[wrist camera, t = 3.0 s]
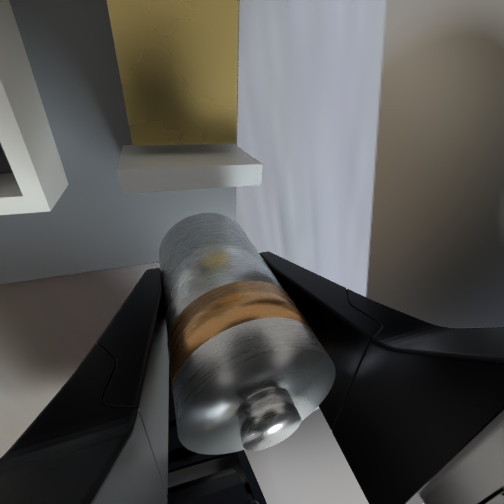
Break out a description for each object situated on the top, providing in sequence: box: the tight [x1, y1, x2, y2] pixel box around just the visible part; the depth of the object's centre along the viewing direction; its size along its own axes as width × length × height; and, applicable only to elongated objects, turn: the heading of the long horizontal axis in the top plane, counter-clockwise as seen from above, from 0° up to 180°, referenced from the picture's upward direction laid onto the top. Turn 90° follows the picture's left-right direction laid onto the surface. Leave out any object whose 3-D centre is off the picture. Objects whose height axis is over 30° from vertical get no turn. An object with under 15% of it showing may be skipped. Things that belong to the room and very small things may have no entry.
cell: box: [159, 213, 336, 455], centre depth 8 cm, size 3×3×6 cm
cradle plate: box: [107, 0, 239, 145], centre depth 10 cm, size 5×4×1 cm
